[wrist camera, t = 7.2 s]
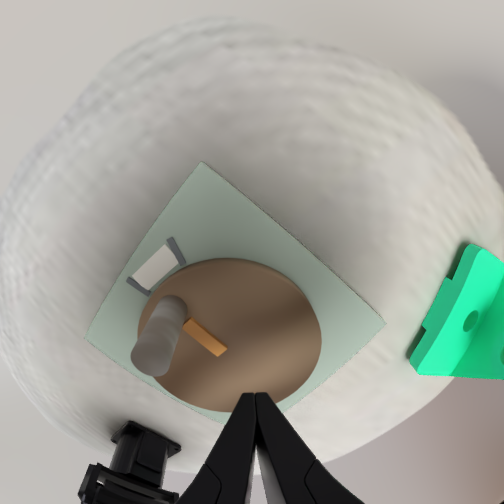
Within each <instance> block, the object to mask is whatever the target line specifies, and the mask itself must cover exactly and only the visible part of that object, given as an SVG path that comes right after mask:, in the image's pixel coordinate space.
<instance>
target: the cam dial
mask: <svg viewBox="0 0 504 504" xmlns="http://www.w3.org/2000/svg"><path fill="white" fill-rule="evenodd" d="M321 345H322V337H321V329H320V325H319V322H318V319H317V317H316V314H315V312H314V310H313V308H312V306H311V304H310V302H309V301H308V299H307V297H306V296H305V294H304V293H303V292H302V290H301V289H300V288H299V287H298V286H297V285H296V284H295V283H294V282H293V281H292V280H291V279H289V278H288V277H287V276H285V275H284V274H282V273H281V272H279V271H277V270H275V269H273V268H271V267H269V266H267V265H264V264H261V263H258V262H255V261H251V260H246V259H239V258H214V259H208V260H203V261H199V262H196V263H193V264H190V265H188V266H186V267H183V268H181V269H179V270H178V271H176V272H175V273H173V274H172V275H170V276H169V277H168V278H166V279H165V280H164V281H163V282H162V283H161V284H160V285H159V286H158V288H157V289H156V290H155V291H154V293H153V294H152V296H151V297H150V299H149V300H148V302H147V304H146V306H145V307H144V309H143V311H142V314H141V317H140V319H139V324H138V331H137V342H136V344H135V346H134V347H133V349H132V351H131V354H130V358H131V361H132V363H133V365H134V366H135V367H136V368H137V369H138V370H139V371H140V372H142V373H144V374H146V375H149V376H153V378H154V379H155V380H156V381H157V382H158V383H159V384H160V385H161V386H162V387H163V388H164V389H165V390H167V391H168V392H169V393H171V394H172V395H174V396H175V397H177V398H179V399H180V400H182V401H184V402H186V403H188V404H191V405H193V406H196V407H199V408H203V409H207V410H211V411H217V412H229V413H232V412H233V410H234V408H235V406H236V404H237V402H238V400H239V398H240V396H241V394H242V393H244V392H253V393H254V394H255V393H256V392H267V393H268V394H269V396H270V397H271V398H272V400H273V401H274V403H275V404H276V403H278V402H280V401H282V400H284V399H285V398H287V397H289V396H290V395H292V394H293V393H294V392H296V391H297V390H298V389H299V388H300V387H301V386H302V385H303V384H304V383H305V382H306V381H307V379H308V378H309V377H310V375H311V374H312V372H313V371H314V369H315V367H316V365H317V362H318V360H319V356H320V353H321Z"/></svg>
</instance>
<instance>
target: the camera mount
mask: <svg viewBox="0 0 504 504" xmlns="http://www.w3.org/2000/svg"><path fill="white" fill-rule="evenodd" d="M422 326H423V327H424V328H425V329H426V332H425V334H424V335H423V337H422V339H421V340H420V342H419V344H418V345H417V347H416V349H415V350H414V352H413V353H412V355H411V357H410V360H409V362H410V364H411V365H412V367H413V368H414V369H415V370H416V372H417V373H418V374H419V375H433V376H455V377H467V378H484V379H502V380H504V263H503V262H501V261H500V260H499V259H498V258H496V257H495V256H494V255H492V254H491V253H490V252H488V251H487V250H486V249H483V248H481V247H479V246H477V245H474V244H470V245H468V246H467V247H466V249H465V250H464V253H463V255H462V258H461V260H460V263H459V265H458V267H457V270H456V272H455V275H454V277H453V279H452V280H451V279H449V278H447V277H445V279H444V281H443V283H442V285H441V288H440V290H439V292H438V294H437V296H436V298H435V300H434V302H433V304H432V306H431V308H430V310H429V312H428V314H427V316H426V317H425V319H424V321H423V323H422Z"/></svg>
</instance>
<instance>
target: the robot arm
mask: <svg viewBox="0 0 504 504" xmlns="http://www.w3.org/2000/svg"><path fill="white" fill-rule="evenodd" d="M111 441H112V442H113V443H115V444H117V447H116V449H115V452H114V455H113V458H112V461H111V464H110V467H109V468H107V467H104V466H103V465H102V464H100V463H97V465H92V464H89V467H88V469H87V472H86V474H85V477H84V479H83V482H82V484H81V487H80V489H79V492H78V496H79V498H80V500H81V504H250V497H251V488H252V479H253V471H254V462H255V451H256V449H257V455H258V460H259V465H260V470H261V475H262V480H263V484H264V489H265V494H266V498H267V502H268V504H365V503H363V502H362V501H361V500H360V499H358V498H357V497H356V496H355V495H353V494H352V493H351V492H350V491H349V490H347V489H346V488H345V487H344V486H343V485H342V484H341V483H339V482H338V481H337V480H336V479H335V478H334V477H333V476H332V475H331V474H330V473H329V472H328V471H327V469H325V467H324V466H323V465H322V464H321V462H320V461H319V460H318V459H316V456H315V455H314V454H313V453H312V451H311V450H310V449H309V448H308V446H307V445H306V444H305V443H304V441H303V440H302V439H301V437H300V436H299V435H298V433H297V432H296V431H295V430H294V428H293V427H292V426H291V424H290V423H289V422H288V420H287V419H286V418H285V416H284V415H283V413H282V412H281V411H280V409H279V408H278V407H277V405H276V404H275V403H274V401H273V400H272V398H271V397H270V396H269V394H268V393H267V392H256V393H255V394H254V393H253V392H244V393H242V394H241V396H240V398H239V400H238V402H237V404H236V406H235V408H234V410H233V412H232V413H231V415H230V417H229V419H228V421H227V423H226V425H225V427H224V428H223V430H222V432H221V434H220V436H219V438H218V439H217V441H216V443H215V445H214V447H213V448H212V450H211V452H210V454H209V455H208V457H207V459H206V461H205V464H203V466H202V467H201V469H200V471H199V472H198V474H197V475H196V477H195V479H194V480H193V482H192V483H191V484H190V486H189V487H188V488H187V489H186V491H185V492H184V493H183V494H182V496H181V497H180V498H179V494H178V493H175V492H170V491H166V490H163V489H162V485H163V479H164V473H165V468H166V463H167V458H169V457H171V456H173V455H174V454H176V453H178V452H180V451H181V446H180V445H177V444H175V443H173V442H171V441H169V440H167V439H165V438H163V437H161V436H159V435H157V434H155V433H153V432H151V431H149V430H147V429H145V428H143V427H142V426H140V425H138V424H136V423H134V422H132V421H128V422H127V423H126V424H125V425H124V426H123V427H122V428H121V429H120V430H119V431H117V432H116V433H115V434H114V435H113V436H112V438H111ZM97 480H99V481H100V482H102V483H104V484H103V485H102V484H100V483H98V482H97ZM500 504H504V500H503V501H502V502H501V503H500Z"/></svg>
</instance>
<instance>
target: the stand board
mask: <svg viewBox="0 0 504 504" xmlns="http://www.w3.org/2000/svg"><path fill="white" fill-rule="evenodd" d="M214 258H239V259H246V260H251V261H255V262H258V263H261V264H264V265H267V266H269V267H271V268H273V269H275V270H277V271H279V272H281V273H282V274H284V275H285V276H287V277H288V278H289V279H291V280H292V281H293V282H294V283H295V284H296V285H297V286H298V287H299V288H300V289H301V290H302V292H303V293H304V294H305V296H306V297H307V299H308V301H309V302H310V304H311V306H312V308H313V310H314V312H315V314H316V317H317V319H318V322H319V325H320V329H321V337H322V345H321V353H320V356H319V360H318V362H317V365H316V367H315V369H314V371H313V372H312V374H311V375H310V377H309V378H308V379H307V381H306V382H305V383H304V384H303V385H302V386H301V387H300V388H299V389H298V390H297V391H296V392H294V393H293V394H292V395H290V396H289V397H287V398H285V399H284V400H282V401H280V402H278V403H276V405H277V407H278V408H279V409H280V411H281V412H282V413H284V412H285V411H286V410H288V409H289V408H291V407H292V406H293V405H295V404H296V403H297V402H299V401H300V400H301V399H303V398H304V397H305V396H307V395H308V394H309V393H310V392H312V391H313V390H314V389H316V388H317V387H318V386H319V385H320V384H322V383H323V382H324V381H325V380H327V379H328V378H329V377H330V376H331V375H333V374H334V373H335V372H336V371H337V370H338V369H340V368H341V367H342V366H343V365H344V364H345V363H346V362H347V361H349V360H350V359H351V358H352V357H353V356H354V355H355V354H356V353H357V352H358V351H359V350H360V349H362V348H363V347H364V346H365V345H366V344H367V343H368V342H369V341H370V340H371V339H372V338H373V337H374V336H375V335H376V334H377V333H378V332H379V331H380V330H381V329H382V328H383V327H384V326H385V325H386V324H387V323H386V322H385V321H384V320H383V319H382V318H381V316H379V315H378V314H377V313H376V312H375V311H374V310H373V309H372V308H371V307H370V306H369V305H368V304H367V303H366V302H365V301H364V300H363V299H362V298H360V297H359V296H358V295H357V294H356V293H355V292H354V291H353V290H352V289H351V288H350V287H349V286H348V285H346V284H345V283H344V282H343V281H342V280H341V279H340V278H339V277H338V276H337V275H336V274H334V273H333V272H332V271H331V270H330V269H329V268H328V267H327V266H326V265H325V264H323V263H322V262H321V261H320V260H319V259H318V258H317V257H316V256H315V255H313V254H312V253H311V252H310V251H309V250H308V249H307V248H305V247H304V246H303V245H302V244H301V243H300V242H299V241H298V240H296V239H295V238H294V237H293V236H292V235H291V234H290V233H288V232H287V231H286V230H285V229H284V228H283V227H281V226H280V225H279V224H278V223H277V222H276V221H274V220H273V219H272V218H271V217H270V216H269V215H267V214H266V213H265V212H264V211H263V210H261V209H260V208H259V207H258V206H257V205H256V204H254V203H253V202H252V201H251V200H250V199H248V198H247V197H246V196H245V195H244V194H242V193H241V192H240V191H239V190H237V189H236V188H235V187H234V186H233V185H231V184H230V183H229V182H228V181H226V180H225V179H224V178H223V177H222V176H220V175H219V174H218V173H217V172H215V171H214V170H213V169H212V168H210V167H209V166H208V165H207V164H205V163H204V162H202V161H201V162H200V163H199V164H198V166H197V167H196V168H195V169H194V171H193V172H192V173H191V174H190V176H189V177H188V178H187V179H186V181H185V182H184V183H183V184H182V186H181V187H180V188H179V190H178V191H177V192H176V194H175V195H174V196H173V198H172V199H171V200H170V202H169V203H168V204H167V206H166V207H165V208H164V210H163V211H162V212H161V214H160V215H159V217H158V218H157V219H156V221H155V222H154V224H153V225H152V227H151V228H150V229H149V231H148V232H147V234H146V235H145V237H144V238H143V240H142V241H141V243H140V244H139V246H138V247H137V249H136V250H135V252H134V253H133V255H132V256H131V258H130V259H129V261H128V262H127V264H126V265H125V267H124V269H123V270H122V272H121V273H120V275H119V277H118V278H117V280H116V282H115V283H114V285H113V287H112V288H111V290H110V292H109V293H108V295H107V297H106V298H105V300H104V302H103V304H102V305H101V307H100V309H99V311H98V312H97V314H96V316H95V318H94V320H93V322H92V323H91V325H90V327H89V329H88V331H87V333H86V335H85V337H84V339H86V340H87V341H88V342H89V343H91V344H92V345H93V346H94V347H96V348H97V349H98V350H99V351H101V352H102V353H103V354H105V355H106V356H107V357H109V358H110V359H112V360H113V361H114V362H116V363H117V364H119V365H120V366H121V367H123V368H124V369H126V370H127V371H129V372H130V373H132V374H133V375H135V376H136V377H138V378H139V379H141V380H142V381H144V382H146V383H147V384H149V385H150V386H152V387H154V388H155V389H157V390H159V391H160V392H162V393H164V394H165V395H167V396H169V397H171V398H172V399H174V400H176V401H178V402H179V403H181V404H183V405H185V406H187V407H189V408H191V409H193V410H195V411H196V412H198V413H200V414H202V415H204V416H206V417H209V418H211V419H213V420H215V421H217V422H219V423H221V424H224V425H226V423H227V421H228V419H229V417H230V415H231V413H229V412H217V411H211V410H207V409H203V408H199V407H196V406H193V405H191V404H188V403H186V402H184V401H182V400H180V399H179V398H177V397H175V396H174V395H172V394H171V393H169V392H168V391H167V390H165V389H164V388H163V387H162V386H161V385H160V384H159V383H158V382H157V381H156V380H155V379H154V378H153V376H149V375H146V374H144V373H142V372H140V371H139V370H138V369H137V368H136V367H135V366H134V365H133V363H132V361H131V358H130V354H131V351H132V349H133V347H134V346H135V344H136V342H137V331H138V324H139V319H140V317H141V314H142V311H143V309H144V307H145V306H146V304H147V302H148V300H149V299H150V297H151V296H152V294H153V293H154V291H155V290H156V289H157V288H158V286H159V285H160V284H161V283H162V282H163V281H164V280H165V279H166V278H168V277H169V276H170V275H172V274H173V273H175V272H176V271H178V270H179V269H181V268H183V267H186V266H188V265H190V264H193V263H196V262H199V261H203V260H208V259H214Z"/></svg>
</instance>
